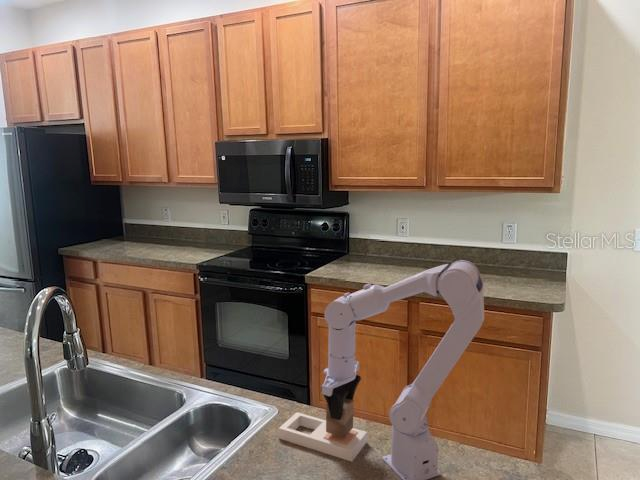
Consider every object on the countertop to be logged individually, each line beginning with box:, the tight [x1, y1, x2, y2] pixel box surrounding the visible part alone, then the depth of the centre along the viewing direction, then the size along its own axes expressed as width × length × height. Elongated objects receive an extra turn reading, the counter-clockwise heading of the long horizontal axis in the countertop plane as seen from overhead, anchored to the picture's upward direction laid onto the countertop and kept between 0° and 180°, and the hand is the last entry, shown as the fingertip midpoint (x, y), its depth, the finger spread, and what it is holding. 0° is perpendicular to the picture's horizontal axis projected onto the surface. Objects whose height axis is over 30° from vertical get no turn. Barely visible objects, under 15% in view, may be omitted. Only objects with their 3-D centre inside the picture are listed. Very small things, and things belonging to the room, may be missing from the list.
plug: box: [325, 398, 355, 438], centre depth 103 cm, size 4×4×6 cm
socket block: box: [278, 412, 368, 463], centre depth 105 cm, size 18×8×3 cm, turn 62°
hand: (341, 413), depth 102 cm, fingers closed on plug, 4 cm apart
